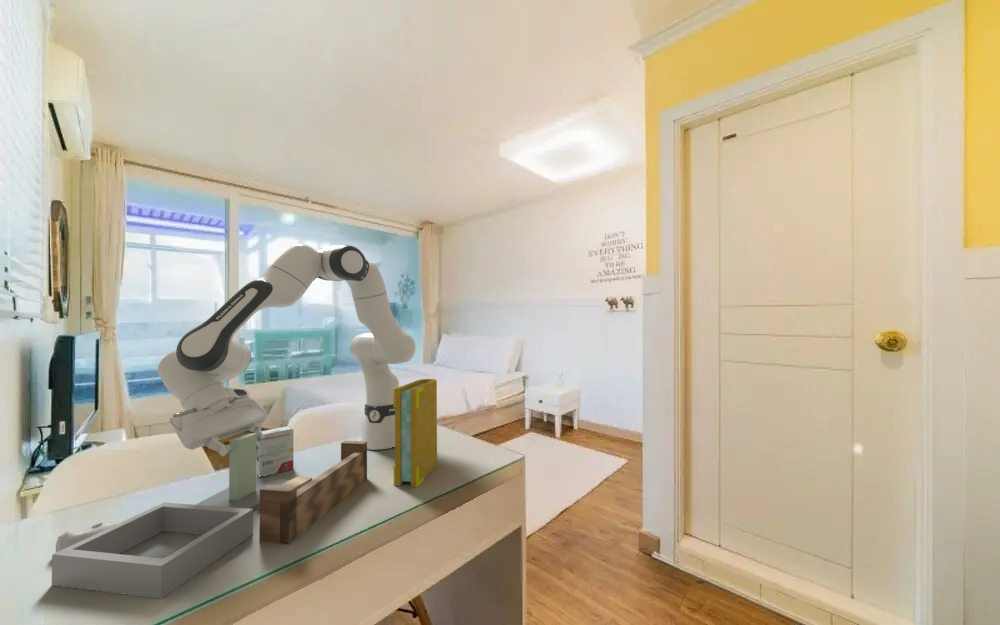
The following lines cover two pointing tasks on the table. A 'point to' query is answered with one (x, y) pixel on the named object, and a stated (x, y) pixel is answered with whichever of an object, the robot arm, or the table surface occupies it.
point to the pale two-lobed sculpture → (80, 535)
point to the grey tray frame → (112, 572)
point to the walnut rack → (310, 496)
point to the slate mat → (246, 502)
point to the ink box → (275, 451)
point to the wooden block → (295, 484)
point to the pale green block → (242, 466)
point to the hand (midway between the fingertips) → (245, 446)
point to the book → (415, 431)
